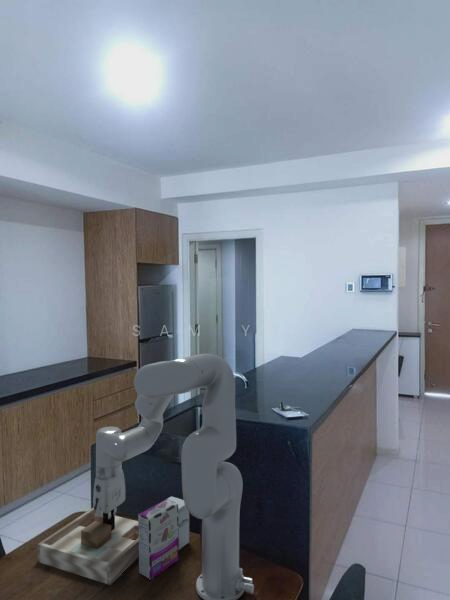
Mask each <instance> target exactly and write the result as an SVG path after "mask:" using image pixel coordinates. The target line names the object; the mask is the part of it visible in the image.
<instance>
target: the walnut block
mask: <svg viewBox="0 0 450 600" xmlns="http://www.w3.org/2000/svg"><path fill="white" fill-rule="evenodd" d="M110 539H111V525H109V524H105V523H101V522H97V521H94V522H93V523H91V524H90V525H88V526H87V527H85V528H84V529H82V530H81V544H82V545H85V546H89V547H92V548H95V549H99V548H100V547H101V546H102V545H104V544H105V543H106V542H108V541H109V540H110Z"/></svg>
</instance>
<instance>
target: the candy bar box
mask: <svg viewBox="0 0 450 600" xmlns="http://www.w3.org/2000/svg"><path fill="white" fill-rule="evenodd" d="M137 521H138V537H139V558H138V574H139V573H141V574H142V575H144V576H146V577H147V578H146V577H145V578H146V579H148V578H149V579H148V580H150V581H151V579H152V580H153V579H154V577H155V576H156V577H158V576H159V575H160V574H161V572H162V571H163V572H165V571H166V570H167V569H168V567H169V568H170V567H172V566H173V565H174V564H176V563H177V562H178V561H180V552H179V550H180V549H179V534H178V533H179V532H178V503H175V502H173V501H170V500H168V498H166V499H164V500H162V501H161V502H159V503H157V504H155V505H153V506H151V507H149V508H147V509H146V510H144V511H142V512H140V513H138V514H137ZM165 569H166V570H165ZM163 572H162V573H163ZM159 573H160V574H159ZM141 574H140V575H141ZM158 574H159V575H158ZM142 575H141V576H142ZM144 576H143V577H144ZM156 577H155V578H156Z"/></svg>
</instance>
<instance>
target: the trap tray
mask: <svg viewBox="0 0 450 600" xmlns="http://www.w3.org/2000/svg"><path fill="white" fill-rule="evenodd" d="M95 515H96V511H95V510H94V508H93V507H91V508H89V509H88V510H87V511H85V512H84V513H82V514H81V515H79V516H78V517H76V518H75V519H73V520H72V521H70V522H69V523H67V524H66V525H64V526H62V527H61V528H60V529H58V530H57V531H55V532H54V533H52V534H51V535H49V536H48V537H46V538H44V539H43V540H42V541H40V542H39V543H37V563H39V564H43V565H47V566H50V567H52V568H56V569H58V570H62V571H65V572H68V573H71V574H75V575H76V576H77V575H78V576H80V577H84V578H87V579H90V580H93V581H97V582H99V583H103V584H106V585H109V586H112V584H113V583H114V582H116V580H117V579H118V578H119V577H120V576H122V575H123V574H124V573H125V572H126V571H127V570H128V569H129V568H130V567H131V566H132V565H133V564H134V563H135V562H136V561H137V560H138V559H139V558H138V557H139V537H138V538H137V539H136V540H132V539H133V538H134V536H135V535H134V534H138V520H133V519H132V518H131V519H130V518H126V517H121V516H118V515H115V529H114V530H112V531H111V539H110V540H109V541H108V542H106V543H105V544H104V545H102V546H101V547H100V548H99V549H95V548H92V547H89V546H85V545H82V544H81V530H82V529H84V528H85V527H87V526H88V525H90V524H91V523H93V522H94V521H97V522H101V523H103V518H102V517H100V518H98V517H96V516H95ZM133 535H134V536H133ZM137 558H138V559H137ZM136 559H137V560H136ZM135 560H136V561H135ZM134 561H135V562H134ZM133 562H134V563H133ZM132 563H133V564H132ZM131 564H132V565H131ZM130 565H131V566H130ZM129 566H130V567H129ZM128 567H129V568H128ZM127 568H128V569H127ZM126 569H127V570H126ZM125 570H126V571H125ZM124 571H125V572H124ZM123 572H124V573H123ZM122 573H123V574H122Z"/></svg>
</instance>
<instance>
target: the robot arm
mask: <svg viewBox="0 0 450 600" xmlns="http://www.w3.org/2000/svg"><path fill="white" fill-rule="evenodd" d="M133 386H134V389H135V391H136V393H137V394H138V396H137V397H136V399H135V402H134V407H135V409H136V412H137V413H138V414H139V415H140V416H141V417H142V419H141V420H140V423H139V425H138V426H136V427H134V428H132V429H128V430H126V431H124V432H122V430H121V428H119V427H117V426H104V427H101V428H98V430H97V431H96V434H95V478H94V484H93V486H94V487H93V498H92V499H93V500H92V503H93V504H92V505H93V507H92V508H94V510H95V511H96V515H95V516H96V517H98V518H100V517H102V518H103V523H105V524H109V525H111V531H112V530H114V529H115V516H117V509H118V507H119V506H120V505H122V504H123V503H124V502H125V501H126V481H125V480H126V479H125V474H124V470H123V469H122V468H123V466H122V464H123V462H125V461H127V460H129V459H133V457H136V456H138V455H141V454H143V453H145V452H147V451H148V450H150V449H151V448H152V446H153V445H154V444H155V442H156V441H157V439H158V438H159V436H160V434H161V433H162V430H163V427H164V415H163V414H164V413H165V411H166V409H167V407H168V405H169V404H170V403H171V400H172V399H173V397H174V396H176V395H181V394H186V393H191V392H193V391H196V390H199V389H201V388H205V394H204V397H203V399H202V406H201V413H202V418H201V419H202V423H201V427H200V428H199V429H197V430H195V431H193V432H192V433H190V434H189V435H188V436H187V437H186V438H185V440H184V441H183V445H182V448H181V458H180V460H181V488H182V489H181V490H182V498H183V499H182V500H184V503H185V506H186V508H187V510H188V511H189V515H191V516H192V517H194V518H196V519H199V520H202V521H201V573H200V575H199V576H198V577H197V578H196V582H195V591H196V593H197V594H198V596H199V597H200V599H203V600H238V599H239V598H240V597H242V595H243V594H244V592H246V593H250V594H254V589H255V584H253V577H249V576H245V575H244V574H243V569H244V568H242V567H240V510H241V501H242V496H243V495H242V494H243V488H244V487H243V486H244V485H243V484H244V483H243V477H242V473H241V471H240V470H239V469H238V466H236V465H235V464H233V463H231V462H228V461H226V460H228V459H229V458H231V457H232V456H233V454H234V453H235V452H236V449H237V419H236V379H235V375H234V372H233V370H232V367H231V366H230V364H229V363H228V362H227V361H226V360H225V359H224V358H222V357H221V356H219V355H218V354H213V353H200V354H195V355H191V356H186V357H182V358H177V359H173V360H165V361H164V360H163V361H162V360H161V361H157V362H153V363H149V364H145V365H143V366H142V367H141V366H140V368H139V369H138V370H137V372H136V373H135V375H134V378H133Z"/></svg>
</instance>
